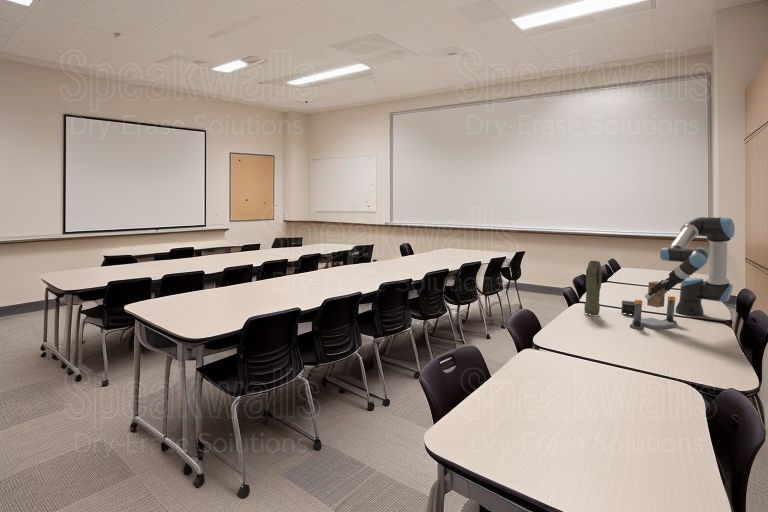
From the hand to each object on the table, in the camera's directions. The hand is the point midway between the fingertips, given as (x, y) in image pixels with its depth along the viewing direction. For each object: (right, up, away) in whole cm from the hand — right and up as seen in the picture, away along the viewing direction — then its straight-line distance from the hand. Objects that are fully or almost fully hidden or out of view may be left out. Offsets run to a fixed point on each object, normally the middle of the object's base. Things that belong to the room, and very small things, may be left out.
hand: (650, 297), depth 260 cm
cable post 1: (-12, -17, -6) cm, 22 cm away
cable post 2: (+14, -16, +4) cm, 22 cm away
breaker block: (+1, -5, -3) cm, 6 cm away
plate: (+1, -16, -1) cm, 17 cm away
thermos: (-23, -14, +24) cm, 36 cm away
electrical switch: (+1, -14, +23) cm, 27 cm away
